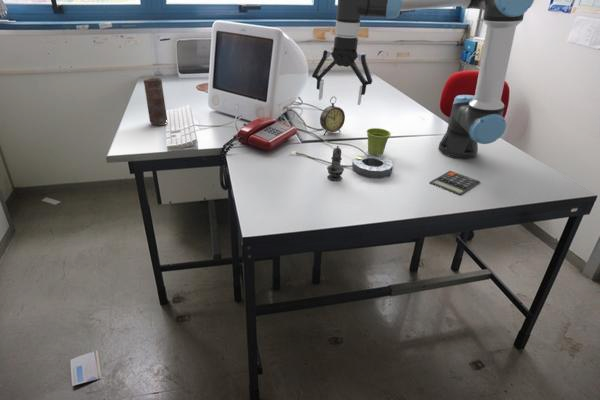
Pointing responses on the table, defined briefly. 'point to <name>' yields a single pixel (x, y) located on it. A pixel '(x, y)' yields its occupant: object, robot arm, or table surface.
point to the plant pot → (377, 140)
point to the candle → (155, 101)
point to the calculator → (455, 182)
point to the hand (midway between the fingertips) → (339, 101)
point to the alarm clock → (332, 118)
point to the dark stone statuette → (335, 166)
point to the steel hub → (377, 172)
